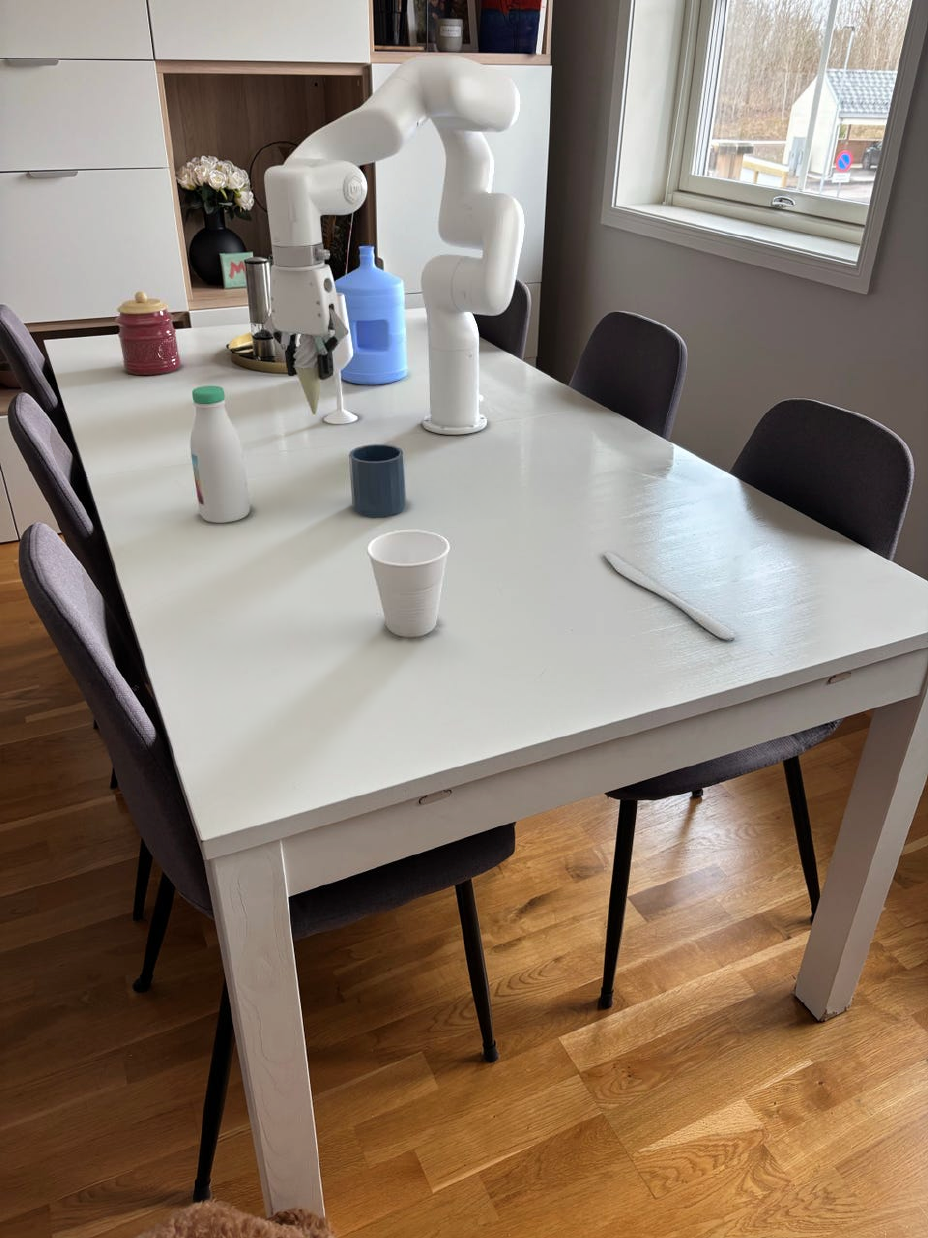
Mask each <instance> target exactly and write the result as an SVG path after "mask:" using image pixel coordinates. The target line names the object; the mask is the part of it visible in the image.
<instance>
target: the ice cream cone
mask: <svg viewBox="0 0 928 1238" xmlns="http://www.w3.org/2000/svg"><path fill="white" fill-rule="evenodd" d="M298 343H299V344H298V346H296V347H297V348H296V349H295V351H296V353H295V354H294V355H293V356H294V358H295V359H296V361H295V362H294V365H293V367H294V368H295V370H296V372H297V374H296V375H297V377H298V381H299V383H300V385H301V388H302V390H303V392H304V395H305V397H306V400H307V402H308V405H309V408H310V410H311V413H312V415H317V411H318V404H319V400H320V399H319V398H320V393H321V386H322V381H323V380H320V379H319V372H318V362H317V355H319V354H320V351H319V348H318V345H317V343H316V340H315V337H314V335H304V334H300V335H299V339H298Z"/></svg>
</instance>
